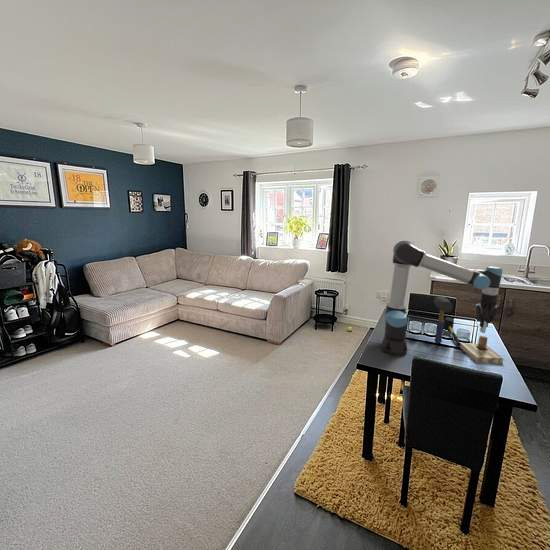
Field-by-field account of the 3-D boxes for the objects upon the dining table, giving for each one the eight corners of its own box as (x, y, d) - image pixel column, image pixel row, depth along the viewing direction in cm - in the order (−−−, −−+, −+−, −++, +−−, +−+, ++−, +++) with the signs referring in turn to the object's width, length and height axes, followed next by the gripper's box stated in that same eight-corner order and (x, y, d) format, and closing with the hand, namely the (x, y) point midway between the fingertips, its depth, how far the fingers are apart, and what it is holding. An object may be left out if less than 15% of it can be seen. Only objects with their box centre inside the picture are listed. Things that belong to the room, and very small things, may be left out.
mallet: (464, 348, 185) (466, 333, 182) (453, 346, 186) (455, 332, 184) (450, 329, 212) (452, 317, 210) (441, 328, 214) (443, 316, 211)
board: (475, 362, 167) (476, 357, 167) (459, 347, 185) (460, 342, 184) (502, 363, 166) (503, 358, 165) (483, 348, 184) (484, 343, 183)
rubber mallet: (448, 347, 184) (454, 301, 178) (435, 347, 185) (441, 300, 179) (440, 339, 196) (446, 295, 190) (428, 338, 197) (433, 294, 191)
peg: (479, 354, 176) (481, 338, 174) (475, 350, 180) (477, 335, 178) (486, 354, 176) (489, 338, 174) (482, 351, 180) (485, 335, 178)
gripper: (481, 295, 167) (474, 334, 173) (506, 296, 166) (498, 335, 172) (474, 291, 175) (467, 328, 180) (497, 292, 173) (490, 330, 179)
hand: (482, 332), depth 176 cm, fingers closed
